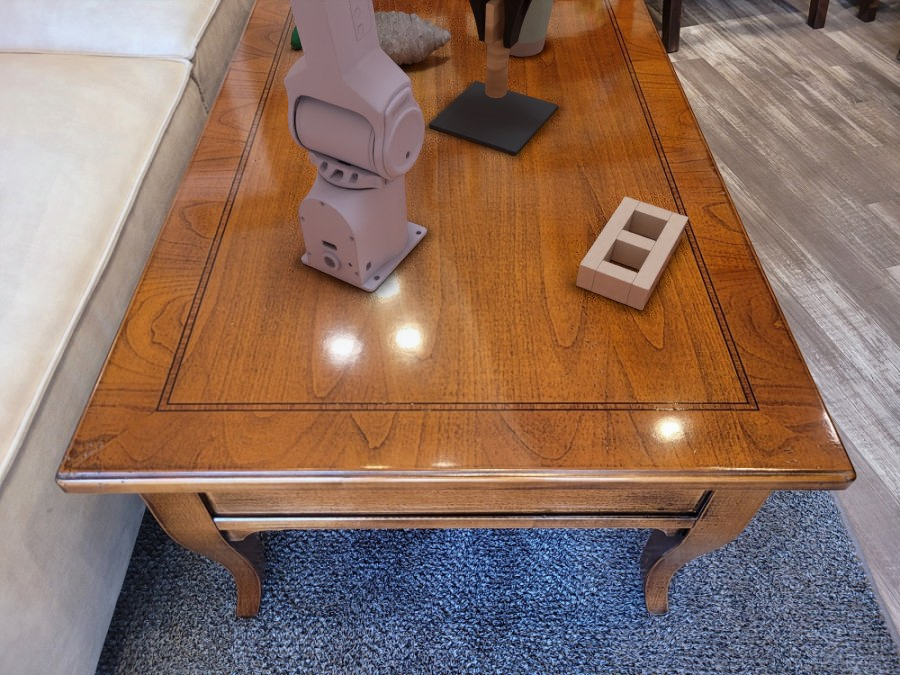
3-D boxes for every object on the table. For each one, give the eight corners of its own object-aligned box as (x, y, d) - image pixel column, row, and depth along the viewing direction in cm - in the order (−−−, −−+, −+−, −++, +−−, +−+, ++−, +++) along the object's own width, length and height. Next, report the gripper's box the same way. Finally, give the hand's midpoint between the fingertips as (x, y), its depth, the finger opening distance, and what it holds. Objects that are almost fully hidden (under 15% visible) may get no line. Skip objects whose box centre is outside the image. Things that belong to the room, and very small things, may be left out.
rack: (681, 238, 64) (689, 216, 62) (642, 311, 58) (649, 290, 56) (619, 217, 66) (625, 195, 64) (575, 285, 60) (579, 264, 58)
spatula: (495, 105, 74) (500, 7, 66) (476, 99, 74) (479, 1, 67) (515, 85, 76) (522, -12, 68) (496, 80, 77) (501, -17, 69)
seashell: (457, 50, 82) (429, -16, 77) (358, 98, 85) (325, 37, 80) (452, 37, 87) (426, -27, 82) (359, 82, 90) (328, 23, 85)
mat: (515, 156, 73) (516, 152, 72) (428, 127, 76) (428, 123, 76) (558, 108, 79) (558, 104, 79) (475, 84, 83) (475, 80, 82)
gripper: (599, -108, 60) (577, 41, 71) (458, -133, 65) (457, 10, 76) (567, -84, 57) (549, 71, 67) (420, -112, 61) (424, 36, 72)
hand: (498, 41), depth 71 cm, fingers closed on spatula, 2 cm apart
